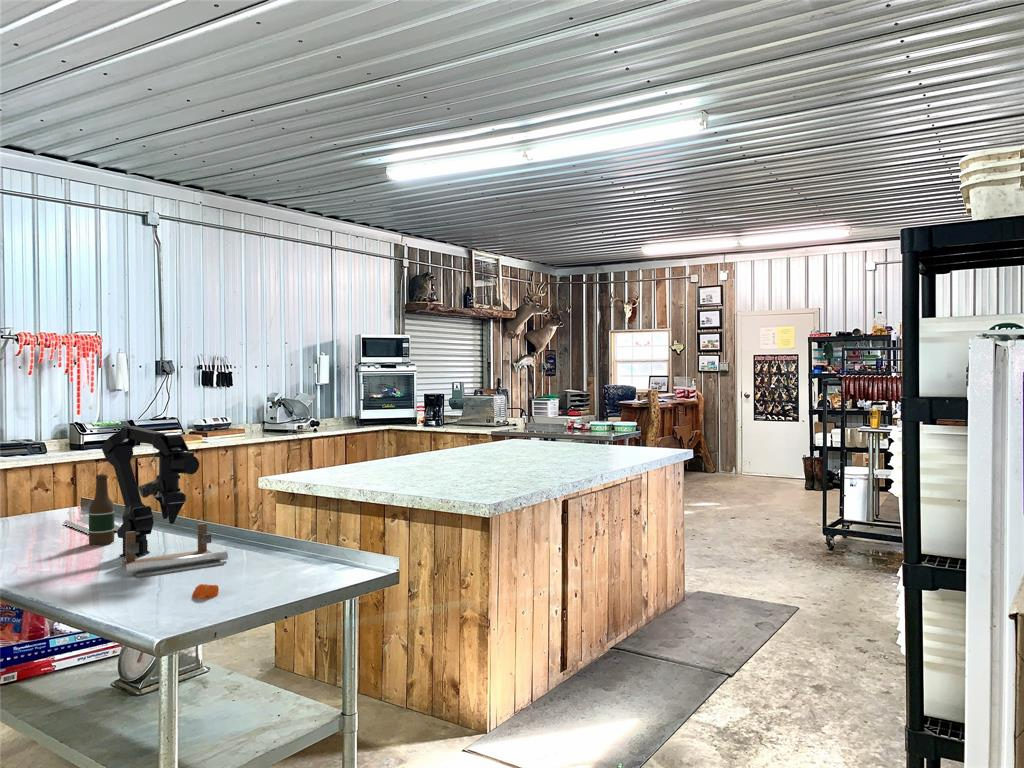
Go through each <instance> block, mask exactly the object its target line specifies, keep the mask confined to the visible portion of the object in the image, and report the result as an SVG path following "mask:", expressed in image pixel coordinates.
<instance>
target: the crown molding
mask: <svg viewBox="0 0 1024 768" xmlns="http://www.w3.org/2000/svg"><path fill="white" fill-rule="evenodd" d="M78 521H79V522H81V523H83V524H85V525H88V526H89V514H83V515H82V516H81V517H80V518H79V519H78ZM63 523H64V524H66V525H69V526H71V527H73V528H75V529H78V530H80V531H83V532H85V533H87V534H86V535H88V534H89V529H88V528H86V527H83V526H80V525H78V524H75V523H76V522H73V521H69V520H66V519H65V520H64V522H63ZM73 528H72V529H73ZM119 528H120V526H119V525H117V524H116V523H114V531H116V532H117V531H118V529H119ZM75 529H74V530H75ZM78 530H77V531H78ZM80 531H79V532H80ZM83 532H82V533H83ZM85 533H84V534H85Z"/></svg>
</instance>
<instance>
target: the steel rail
mask: <svg viewBox="0 0 1024 768" xmlns="http://www.w3.org/2000/svg"><path fill="white" fill-rule="evenodd" d="M228 554H229V553H228V551H227V550H221V551H214V552H212V553H206V554H198V555H191V556H184V557H177V558H170V559H163V560H155V561H148V562H141V563H134V564H127V565H126V568H125V572H126V575H131V574H133V573H140V572H146V571H153V570H160V569H167V568H174V567H180V566H187V565H194V564H201V563H207V562H214V561H221V562H222V561H227V560H228V559H229V555H228ZM133 575H134V574H133Z"/></svg>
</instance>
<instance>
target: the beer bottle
mask: <svg viewBox="0 0 1024 768" xmlns="http://www.w3.org/2000/svg"><path fill="white" fill-rule="evenodd" d="M108 477H109V476H108V474H105V473H101V474H96V476H95V480H96V481H95V482H96V484H95V494H94V499H93V500H92V502H91V503H90V505H89V508H88V515H89V535H88V543H89V545H90V544H91V545H90V546H93V545H101V546H104V545H103V544H108V545H110V544H109V543H112V542H113V543H114V542H115V532H114V524H115V505H114V502H113V500H111V498H110V496H109V490H108V489H109V488H108V479H109V478H108ZM113 543H112V544H113Z"/></svg>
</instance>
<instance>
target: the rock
mask: <svg viewBox="0 0 1024 768" xmlns="http://www.w3.org/2000/svg"><path fill="white" fill-rule="evenodd" d="M219 590H220V588H219V585H217V584H207V583H205V584H203V583H200V584H198V585H197V586H195V589H194V591H193V592H192V595H191V596H193V598H195V599H198V600H207V599H212V598H215V597H217V596H218V594H219Z"/></svg>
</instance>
